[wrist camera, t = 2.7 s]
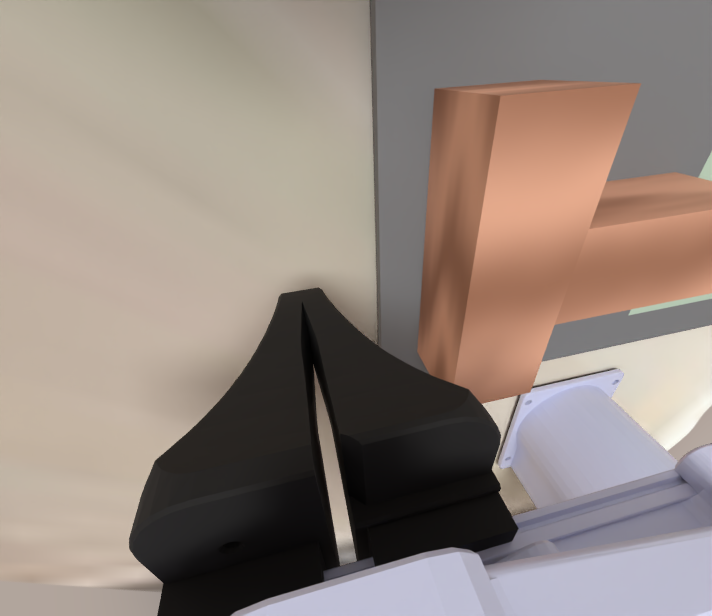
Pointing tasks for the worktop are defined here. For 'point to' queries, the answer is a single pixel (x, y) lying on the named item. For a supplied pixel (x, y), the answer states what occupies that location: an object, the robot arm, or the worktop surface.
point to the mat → (526, 63)
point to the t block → (544, 228)
